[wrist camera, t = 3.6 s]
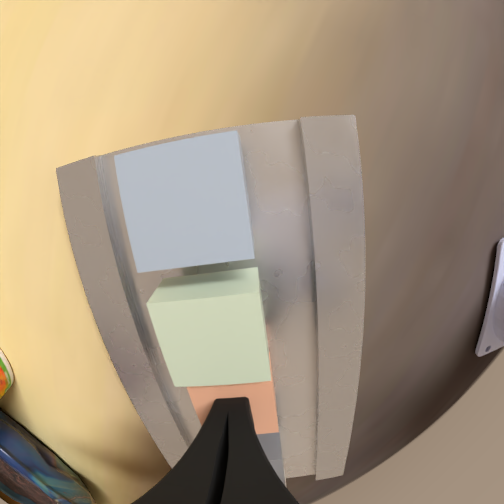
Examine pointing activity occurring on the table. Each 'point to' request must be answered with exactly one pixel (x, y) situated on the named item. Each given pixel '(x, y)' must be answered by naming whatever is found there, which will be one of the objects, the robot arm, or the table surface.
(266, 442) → the key
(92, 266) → the base
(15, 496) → the bonsai tree
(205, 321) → the pale green square block
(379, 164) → the table surface
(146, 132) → the table surface
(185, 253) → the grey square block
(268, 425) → the key
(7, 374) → the supplement bottle
